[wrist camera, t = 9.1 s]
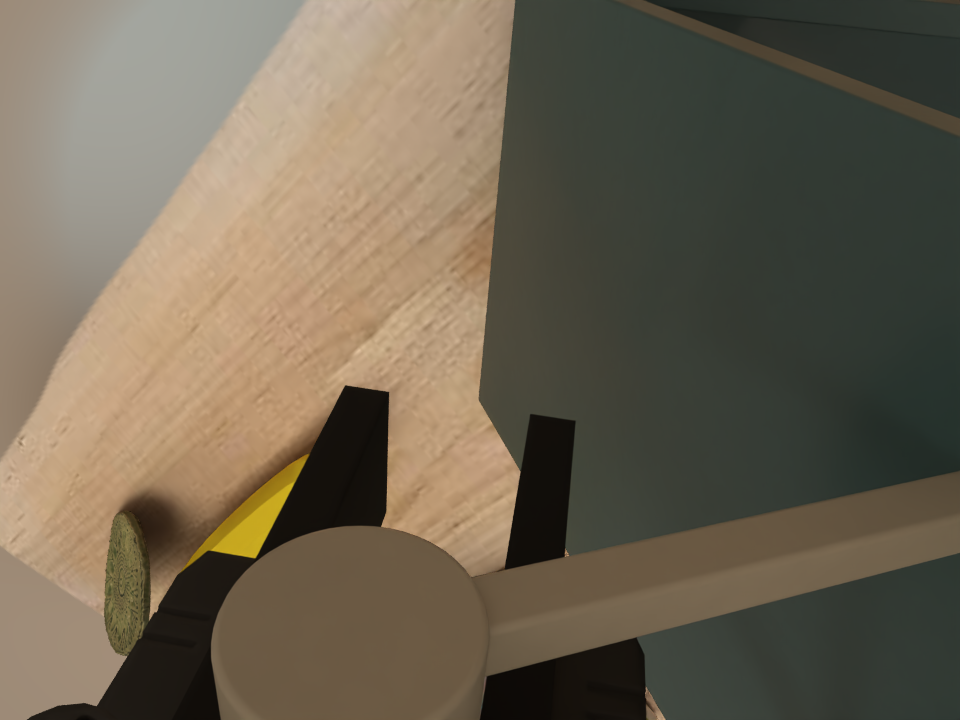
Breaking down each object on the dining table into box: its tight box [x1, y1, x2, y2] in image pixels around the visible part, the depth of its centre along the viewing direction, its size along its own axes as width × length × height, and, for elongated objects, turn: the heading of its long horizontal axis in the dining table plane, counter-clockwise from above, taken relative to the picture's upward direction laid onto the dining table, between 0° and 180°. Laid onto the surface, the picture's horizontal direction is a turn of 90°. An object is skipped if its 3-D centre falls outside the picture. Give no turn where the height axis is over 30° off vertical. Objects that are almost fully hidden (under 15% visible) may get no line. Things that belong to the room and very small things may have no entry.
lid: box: [211, 0, 960, 720], centre depth 16 cm, size 18×14×10 cm
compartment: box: [644, 0, 960, 119], centre depth 28 cm, size 18×14×9 cm
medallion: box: [104, 511, 151, 656], centre depth 46 cm, size 8×8×1 cm
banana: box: [180, 453, 310, 573], centre depth 42 cm, size 3×19×6 cm, turn 136°
